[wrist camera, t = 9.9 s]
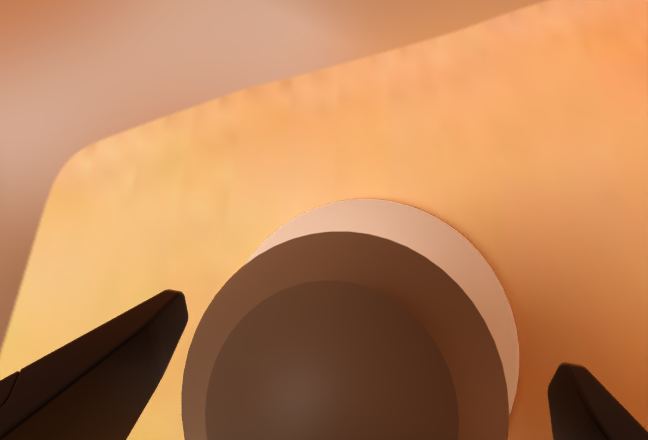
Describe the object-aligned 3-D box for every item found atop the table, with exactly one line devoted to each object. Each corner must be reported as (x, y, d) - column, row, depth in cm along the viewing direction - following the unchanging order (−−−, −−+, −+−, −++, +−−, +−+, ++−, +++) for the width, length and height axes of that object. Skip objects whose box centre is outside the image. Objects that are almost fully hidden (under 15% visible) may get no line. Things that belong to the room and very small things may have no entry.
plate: (523, 513, 16) (532, 526, 15) (216, 484, 18) (206, 494, 17) (500, 203, 19) (507, 198, 18) (240, 204, 21) (233, 199, 20)
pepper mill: (435, 382, 17) (629, 590, 4) (327, 416, 17) (177, 717, 4) (396, 273, 18) (446, 163, 5) (296, 306, 18) (108, 276, 5)
